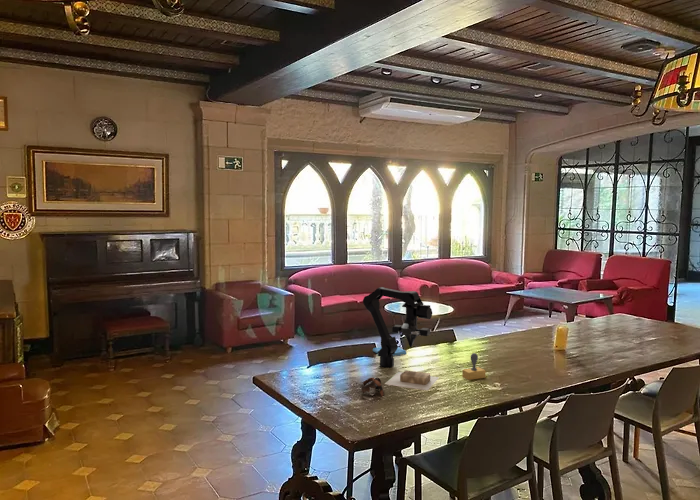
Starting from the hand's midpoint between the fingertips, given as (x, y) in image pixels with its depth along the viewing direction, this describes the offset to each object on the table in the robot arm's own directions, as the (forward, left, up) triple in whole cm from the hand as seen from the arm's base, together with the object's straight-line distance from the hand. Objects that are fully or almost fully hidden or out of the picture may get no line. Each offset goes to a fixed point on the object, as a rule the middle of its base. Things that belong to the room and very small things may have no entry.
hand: (410, 346), depth 265 cm
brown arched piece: (-6, -36, -13) cm, 39 cm away
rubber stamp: (+31, +5, -13) cm, 34 cm away
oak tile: (+1, -14, -11) cm, 18 cm away
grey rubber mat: (+5, -14, -13) cm, 20 cm away
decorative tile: (-22, +29, -14) cm, 39 cm away
